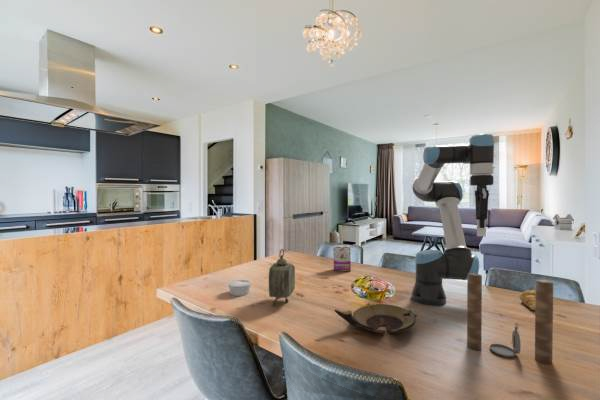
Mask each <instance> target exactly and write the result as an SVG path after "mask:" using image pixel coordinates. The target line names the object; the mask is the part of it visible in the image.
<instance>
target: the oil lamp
mask: <svg viewBox="0 0 600 400" xmlns="http://www.w3.org/2000/svg"><path fill="white" fill-rule="evenodd" d="M334 312H335V313H336V314H337V315H338V316H339V317H340V318H342V319H343V320H344V321H346V322H347V323H348V324H349V325H351V326H352V327H360V328H363V329H364V330H366V331H367V330H368V331H371V332H374V333H379V334H385V333H386V332H388V333H389V334H390V333H391V334H395V333H396V334H397V333H401V332H404V331H407V330H409V329H411V328H412V327H413V326H414V325H415V324H416V321H417V317H418V315H417V314H415V313H414V312H413V311H412V310H410V309H406V308H404V307H401V306H398V305H392V304H386V303H385V304H384V303H376V304H368V305H364V306H361V307H359V308H357V309H355V311H353V312H352V310H351V309H349V310H345V311H342V310H339V309H334ZM385 326H386V327H385ZM379 327H385V329H386V330H385V329H378V328H379Z"/></svg>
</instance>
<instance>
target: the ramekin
mask: <svg viewBox="0 0 600 400" xmlns="http://www.w3.org/2000/svg"><path fill="white" fill-rule="evenodd" d="M251 286H252V282H251V281H250V280H246V279H237V280H232V281H230V282H229V283H228V288H229V293H230V294H231V296H234V297H242V296H246V295H248V294H249V293H250V289H251Z"/></svg>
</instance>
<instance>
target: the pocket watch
mask: <svg viewBox="0 0 600 400" xmlns="http://www.w3.org/2000/svg"><path fill="white" fill-rule="evenodd" d="M518 329H519V323H515V326H514V330H512V335H511V336H512V339H511V340H512V347H513V348H512V347H510V346H507V345H505V344H501V343H491V344H490V345H489V349H490V350H491V351H492V352H493V353H494V354H497V355H499V356H502V357H505V358H513V357H515V356H516V355H517V354H520V353H521V337H520V334H519V331H518Z"/></svg>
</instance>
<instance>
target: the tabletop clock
mask: <svg viewBox="0 0 600 400" xmlns="http://www.w3.org/2000/svg"><path fill="white" fill-rule="evenodd" d="M278 255H279V256H278V257H279V259H277V260H276V262H273V264H272V265H270V267H269V269H268V295H269V297H270V298H275V299H274V301H273V302H272V303H271V306H273V307H274V306H276V302H277V300H278V299H279V298H282V299H285V300H284V302H285V303H288V302H289V299H288V297H290V296H292V294H293V293H294V292H295V291H294V290H295V287H296V284H295V283H296V272H295V271H296V267H295V266H296V265H295V264H292V263H291V262H288V261H287V260H286V259H285V258H284V256H285V250H284V248H281V249H280V251H279V253H278Z"/></svg>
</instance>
